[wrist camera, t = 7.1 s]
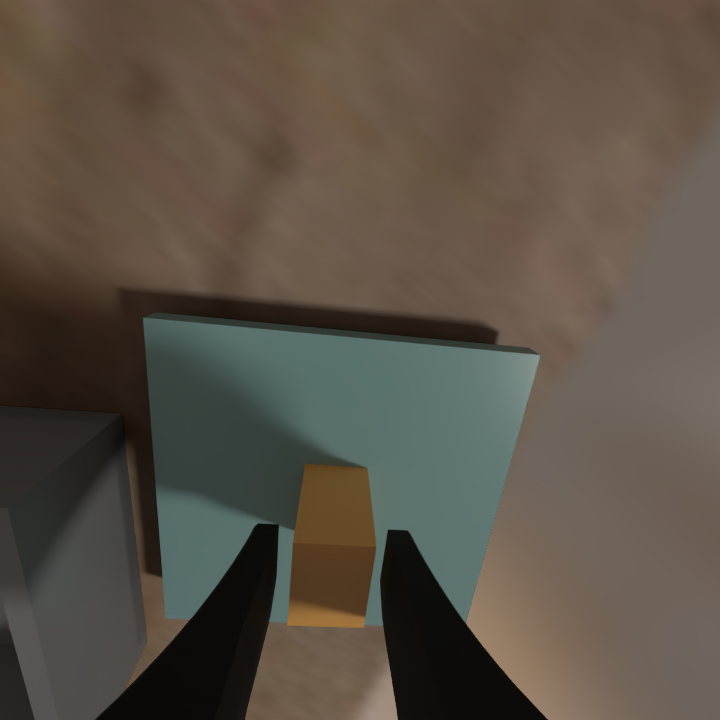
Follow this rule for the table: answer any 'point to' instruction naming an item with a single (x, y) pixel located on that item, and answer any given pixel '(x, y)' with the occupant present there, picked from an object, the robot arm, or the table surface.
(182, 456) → the lid
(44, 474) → the parts tub
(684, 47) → the table surface
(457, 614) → the robot arm
